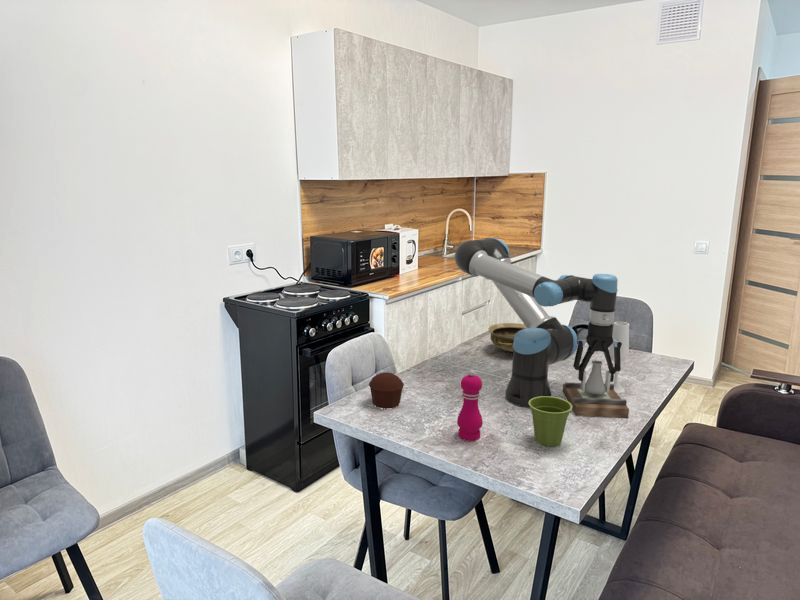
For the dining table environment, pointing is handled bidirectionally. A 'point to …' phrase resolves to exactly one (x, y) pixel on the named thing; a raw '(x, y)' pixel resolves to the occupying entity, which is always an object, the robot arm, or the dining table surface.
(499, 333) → the ceramic bowl
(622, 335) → the champagne flute
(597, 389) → the flask
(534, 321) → the robot arm
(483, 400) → the dining table surface
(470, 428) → the pepper mill
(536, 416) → the plant pot
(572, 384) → the dock
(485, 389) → the dining table surface
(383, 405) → the muffin
